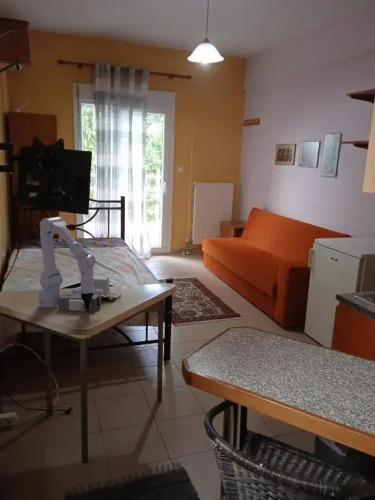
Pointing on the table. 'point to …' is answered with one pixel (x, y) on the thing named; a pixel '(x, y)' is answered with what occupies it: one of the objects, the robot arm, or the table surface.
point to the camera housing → (66, 296)
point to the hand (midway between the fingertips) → (87, 308)
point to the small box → (102, 284)
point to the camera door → (77, 305)
